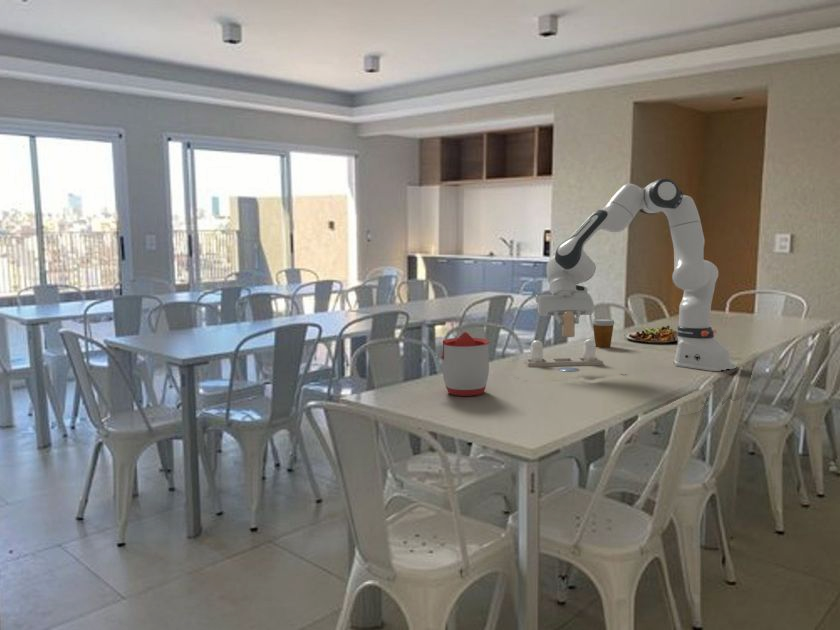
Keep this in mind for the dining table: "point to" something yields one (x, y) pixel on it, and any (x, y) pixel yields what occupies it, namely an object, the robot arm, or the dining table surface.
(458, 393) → the citrus juicer
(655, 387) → the dining table surface
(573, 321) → the beige rounded cylinder
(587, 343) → the white rounded cylinder
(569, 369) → the saucer
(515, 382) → the dining table surface
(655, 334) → the plate of food
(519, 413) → the dining table surface
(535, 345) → the white egg
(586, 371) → the dining table surface
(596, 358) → the egg tray
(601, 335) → the disposable coffee cup
